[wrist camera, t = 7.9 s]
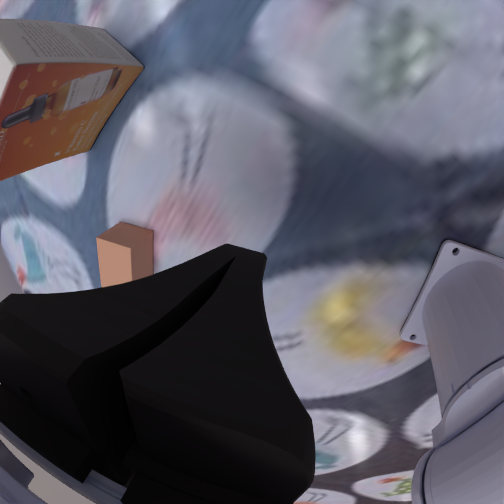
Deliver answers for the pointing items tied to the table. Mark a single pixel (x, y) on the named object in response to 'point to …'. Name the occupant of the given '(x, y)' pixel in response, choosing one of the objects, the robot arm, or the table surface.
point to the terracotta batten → (125, 254)
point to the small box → (56, 90)
